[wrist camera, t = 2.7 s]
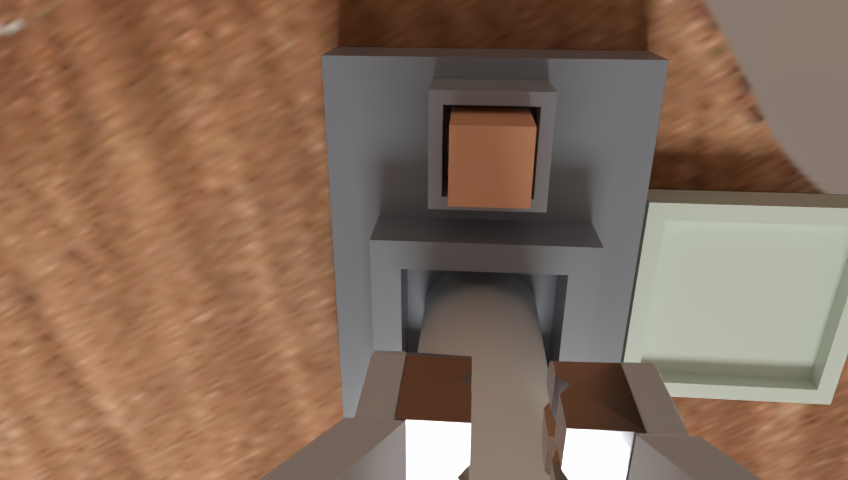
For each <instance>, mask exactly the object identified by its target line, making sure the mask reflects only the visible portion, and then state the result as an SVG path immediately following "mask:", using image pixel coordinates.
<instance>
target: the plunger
mask: <svg viewBox="0 0 848 480" xmlns="http://www.w3.org/2000/svg"><path fill="white" fill-rule="evenodd" d="M536 130H537V126H536V124H535V121H534V119H533V116H532V114H531V111H530V109H529V108H504V107H452V112H451V118H450V124H449V164H448V206H456V207H489V208H522V209H530V206H531V193H532V181H533V168H534V155H535V143H536Z"/></svg>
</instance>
